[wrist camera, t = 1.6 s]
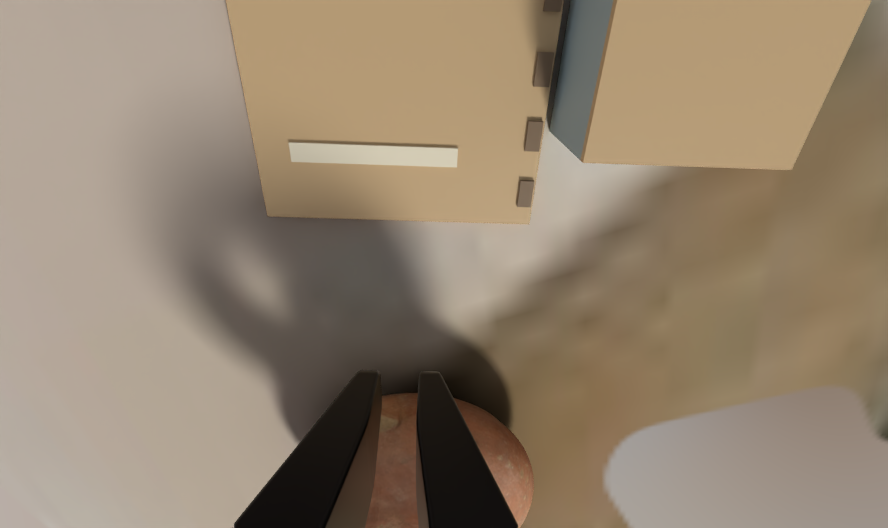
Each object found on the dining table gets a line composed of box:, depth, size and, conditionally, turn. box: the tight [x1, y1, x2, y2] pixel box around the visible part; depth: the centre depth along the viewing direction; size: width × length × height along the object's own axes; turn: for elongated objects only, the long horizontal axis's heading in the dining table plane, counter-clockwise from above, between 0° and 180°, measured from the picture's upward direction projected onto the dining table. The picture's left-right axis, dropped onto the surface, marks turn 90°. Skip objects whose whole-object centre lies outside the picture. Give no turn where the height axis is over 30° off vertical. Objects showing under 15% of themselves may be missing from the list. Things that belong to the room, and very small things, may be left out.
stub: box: [550, 0, 871, 170], centre depth 14 cm, size 7×5×5 cm
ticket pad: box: [226, 0, 564, 224], centre depth 16 cm, size 12×13×1 cm
